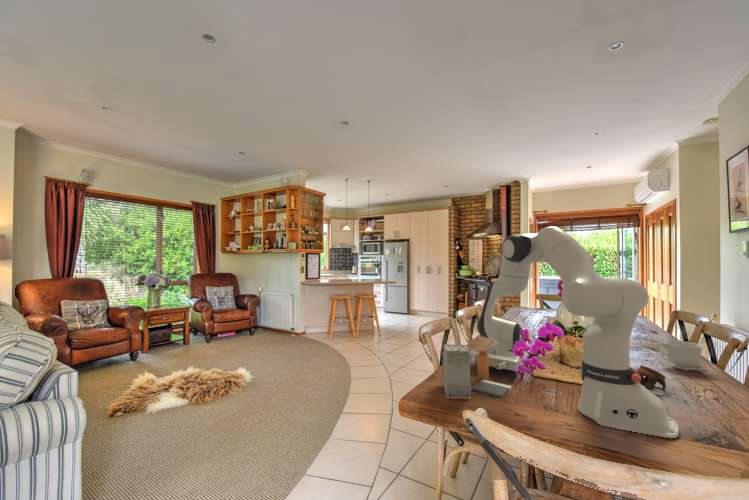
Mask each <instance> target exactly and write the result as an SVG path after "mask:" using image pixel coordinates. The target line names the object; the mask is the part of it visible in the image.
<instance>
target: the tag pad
mask: <svg viewBox="0 0 749 500" xmlns="http://www.w3.org/2000/svg"><path fill="white" fill-rule="evenodd" d="M511 390H512V386H511V385H508V384H505V383H504V384H503V383H500V382H499V383H498V382H494V381H491V380H488V381H487V380H479V382H477V383H476V384H474V386H471V391H474V392H477V393H481V394H485V395H488V396H492V397H497V398H500V399H502V398H503V397H505V395H506V394H507V393H509V392H510V391H511Z"/></svg>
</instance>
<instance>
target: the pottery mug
mask: <svg viewBox="0 0 749 500" xmlns="http://www.w3.org/2000/svg"><path fill="white" fill-rule="evenodd" d="M636 369H637V371H638V373H639V375H640V377H641V381H640V382H639V383H640V384H641V385H643V386H644V387H645V388H646V389H648V390H649V391H650V390H651V391H653V390H654V388H655V386H656V384H657V383H659V384H660V385H661V386H662V387H661V389H662V391H664V390H666V387H667V385H666V378H667V377H666V375H663V374H662V373H661V372H659V371H656V370H655V369H652V368H650V367H648V366H644V365H640V366H639V368H636ZM644 376H645V377H644Z"/></svg>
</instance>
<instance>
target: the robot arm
mask: <svg viewBox="0 0 749 500" xmlns="http://www.w3.org/2000/svg"><path fill="white" fill-rule="evenodd" d="M501 245H502V246H501V251H502V254H503V255H502V258H501V261H500V262H501V263H500V268H499V276H498V277H497V279H496V280H495V281H492V283H490V286H489V287H488V291H487V293H486V297H485V300H484V303H483V307H482V310H481V314H480V316H479V319H478V321H477V324H476V330H477V332H478V334H479V335H480V336H481V338H484V339H490V340H493V341H497V343H496V344H493V345H491V346H490V347H488V349H486V351H487V354H488V355H489V367H493V368H495V369H496V370H500V371H501V369H502V370H509V371H514V372H518V371H519V370H518V367H519V361H520V362H521V356H520V357H519V356H516V355H515V354H514V353H513V348H514V344H515V341H520V340H524V337H523V338H522V337H521V336H520V334H519V333H520V331H521V330H520V329H522V327H521V325H520V323H518V322H516V321H511V320H508V319H504V318H501V317H500V318H499V317H496V316H495V315H494V310H495V307H496V306H497V305H496V304H497V301H498V299H499V298H501V297H507V296H508V297H510V296H514V295H516V296H517V295H518V294H520V293H522V292H524V291H525V290H526V288H528V285H529V284H528V283H529V279H530V269H531V268H530V267H531V265H532V263H533V264H534V263H541V262H542V263H543V262H547V263H548V265H549V266H550V267H551V268H552V269H553V271H554V272H555V273H556V274H557V276H558V277H559V278H560V280H561V281H562V284H563V288H562V291H561V297H560V298H561V302H562V305H563V307H564V309H566V311H567V312H569V313H570V314H573V315H577V316H581V317H584V318H593V321H592V323H591V325H590V326H589V327H588V328H587V329H586V330H585V331H584V333H583V334H582V360H581V363H580V377H581V380H582V383H581V384H582V385H581V391H580V392H581V393H580V396H579V401H578V404H577V410H578V412H580V413H581V414H582V415H583V416H586V417H588V418H589V419H591V420H593V421H595V422H596V423H597V424H598V425H599V424H600V426H602V427H605V426H606V428H610V427H611V428H612V429H615V428H616V430H621V431H625V430H626V432H630V431H632V432H631V433H635V432H637V433H636V434H641V433H643V434H642V435H646V434H650V435H649V436H651V435H658V436H664V437H669V438H675V439H676V437H677V438H678V437H679V436H680V428H679V424H678V423H677V422H676V421H675V420H674V419H673V418H672V417H670V416H668V413H667V409H666V407H665V405H664V403H663V401H662V399H661V398H659V397H658V396H657V395H656V394H654V393H653V392H652V391H650V390H648V389H646V388H645V387H644V385H641V384H640V383H639V382H640V381H641V377H640V375H639V373H638V371H637V369H638V368H635V369H634V368H633V367H631V366H630V365H631V364H630V350H631V349H630V348H631V347H630V345H631V344H630V343H631V336H632V332H633V329H634V327H635V323H636V321H637V319H638V316H639V314H640V313H641V312H642V311H643V310H644V309H645V308H646V307H647V306H648V302H649V293H648V291H647V289H646V288H645V286H644V285H642V283H640V282H638V281H635V280H633V279H628V278H624V277H602V276H600V275H599V274H598V273H596V271H595V269H594V267H595V259H594V257H593V256H592V255H591V254H590V253H589V252H588V251H587V250H586V248H584V247H583V246H582V245H581V243H579V242H578V241H577V240H576V239H575V238H574V237H572V235H570V234H569V233H568V232H566V231H565V230H564V229H562V228H559V227H558V226H554V225H553V226H552V225H550V226H546V227H544V228H542V229H541V230H539V231H538V233H537V232H535V233H534V232H533V233H532V232H527V233H515V234H510V235H509V236H506V237H505V238H504V239H503V242H502V244H501ZM518 330H519V331H518ZM522 330H523V329H522ZM480 350H481V349H480ZM480 350H479V349H471V350H470V365H478V362H477V354H478V353H479V351H480ZM611 428H610V429H611Z"/></svg>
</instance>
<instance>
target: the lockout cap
mask: <svg viewBox="0 0 749 500" xmlns="http://www.w3.org/2000/svg"><path fill="white" fill-rule="evenodd" d="M477 362H478V363H477V380H479V381H482V380H487V381H490V366H489V355H488V354H487V350H484V349H483V350H482V349H480V351H479V353H478V354H477Z"/></svg>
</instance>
